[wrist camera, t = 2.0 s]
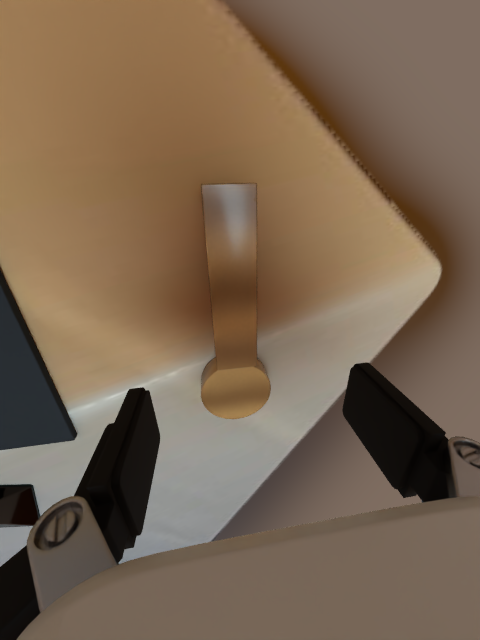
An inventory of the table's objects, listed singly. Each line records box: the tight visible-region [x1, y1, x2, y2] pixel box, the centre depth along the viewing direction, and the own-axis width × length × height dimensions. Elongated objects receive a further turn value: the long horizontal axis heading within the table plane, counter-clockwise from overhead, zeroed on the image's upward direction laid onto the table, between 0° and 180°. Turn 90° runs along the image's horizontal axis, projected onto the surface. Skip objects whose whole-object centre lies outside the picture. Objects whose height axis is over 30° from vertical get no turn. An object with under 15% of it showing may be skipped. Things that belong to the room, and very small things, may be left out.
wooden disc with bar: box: [201, 183, 271, 419], centre depth 18 cm, size 18×6×3 cm, turn 2°
